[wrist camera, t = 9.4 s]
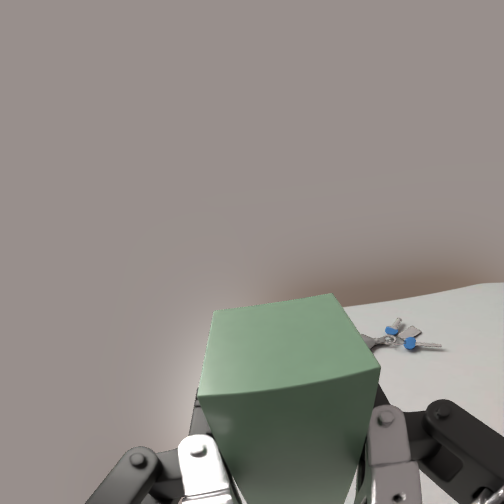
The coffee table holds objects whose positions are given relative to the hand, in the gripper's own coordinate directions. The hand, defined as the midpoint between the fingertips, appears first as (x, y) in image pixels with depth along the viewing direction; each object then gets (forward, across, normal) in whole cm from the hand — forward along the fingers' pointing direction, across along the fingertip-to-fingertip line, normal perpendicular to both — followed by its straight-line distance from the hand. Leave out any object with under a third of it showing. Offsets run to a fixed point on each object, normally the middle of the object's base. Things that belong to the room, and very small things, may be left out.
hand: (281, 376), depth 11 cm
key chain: (+22, -18, +17) cm, 33 cm away
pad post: (-3, 0, +6) cm, 7 cm away
